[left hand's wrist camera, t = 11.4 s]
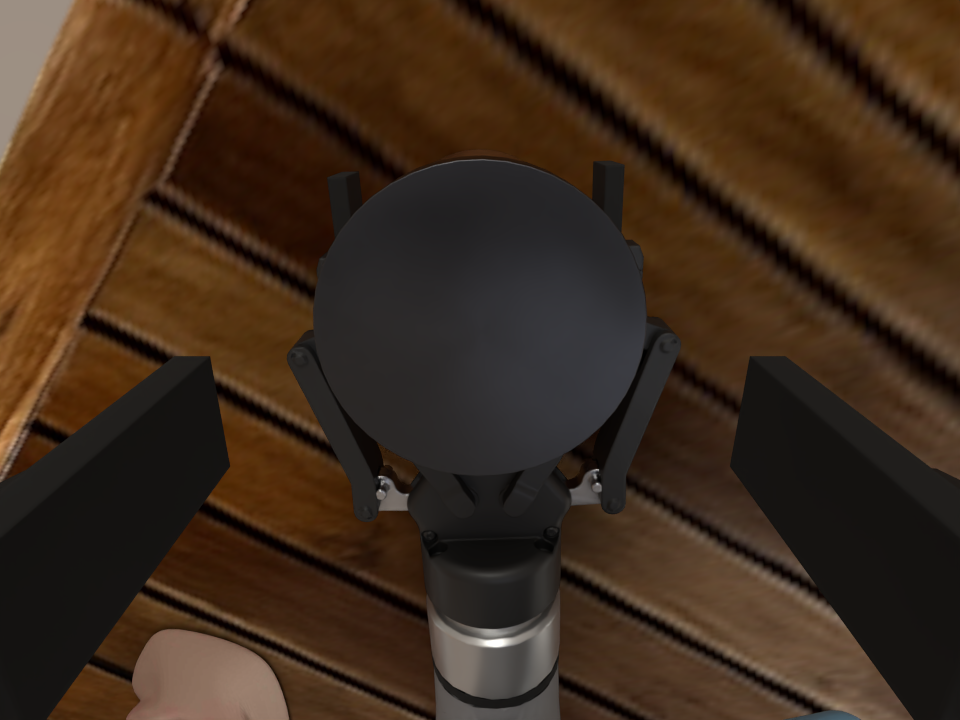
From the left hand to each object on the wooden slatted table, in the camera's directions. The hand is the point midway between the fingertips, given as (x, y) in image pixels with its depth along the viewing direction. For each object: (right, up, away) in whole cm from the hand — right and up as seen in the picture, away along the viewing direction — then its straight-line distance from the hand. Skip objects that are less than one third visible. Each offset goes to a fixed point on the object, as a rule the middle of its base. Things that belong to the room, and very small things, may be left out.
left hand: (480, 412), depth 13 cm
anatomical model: (-20, -24, +32) cm, 45 cm away
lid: (0, +2, +5) cm, 6 cm away
